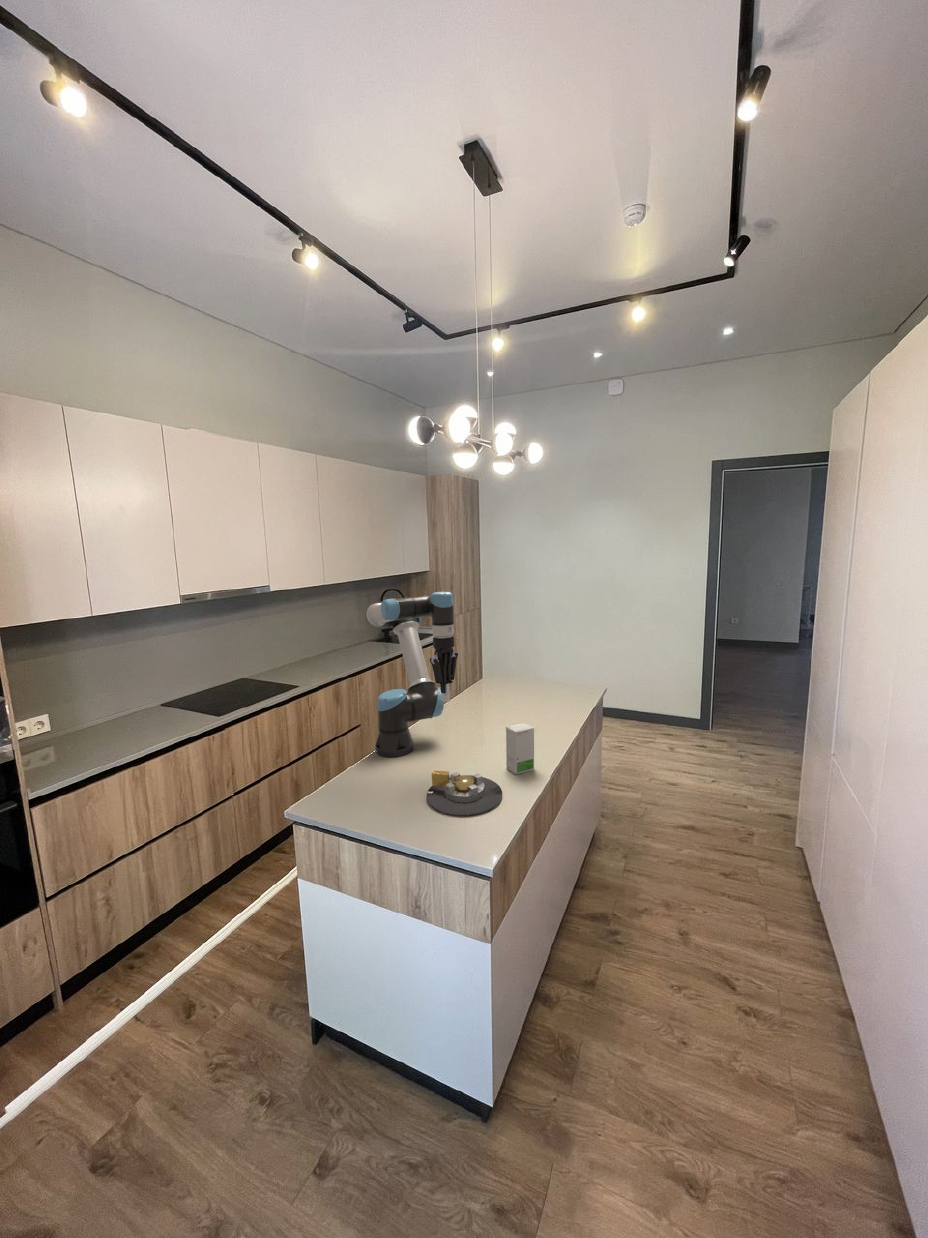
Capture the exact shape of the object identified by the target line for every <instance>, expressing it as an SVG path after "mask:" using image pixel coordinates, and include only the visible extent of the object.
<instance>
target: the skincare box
mask: <svg viewBox="0 0 928 1238" xmlns="http://www.w3.org/2000/svg"><path fill="white" fill-rule="evenodd" d="M505 732H506V733H505V741H506V742H505V743H506V745H505V746H506V748H505V751H506V757H505V759H506V769H508V770H509V771H510V772H511V773H513V774H514V775H519V774H523V773H527V772H531V771H534V770H535V728H534V727H533V726H531V725H529V724H527V723H525V722H524V723H517V724H512V725H507V726H505Z"/></svg>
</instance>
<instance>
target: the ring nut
mask: <svg viewBox="0 0 928 1238" xmlns="http://www.w3.org/2000/svg"><path fill="white" fill-rule="evenodd" d="M458 776H461V774H460V772H457V771H454V772H453V773H450V771H449V770H448V771H447V770H433V771H432V773H431V786H444V794H445V796H446V797H447V798H448V799H450V800H452V801H454V802H463V803H467V802H472V801H476V800H478V799H479V798H481V797H483V795H484V792H485V785H484V783H483V782H482V777H483V776H482V775H481V774H480V773H475V774H473V775H472V776H473V779H474V785H471V786H469V787H468V792H467V793H461V792H456V791H455V778H456V777H458ZM449 777H451V780H450V779H449Z"/></svg>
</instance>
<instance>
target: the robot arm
mask: <svg viewBox="0 0 928 1238" xmlns="http://www.w3.org/2000/svg"><path fill="white" fill-rule="evenodd" d="M454 604H455V603H454V597H453V593H452V592H450V591H436V592H432V593H431V594H429V595H428V594H426V595H422V596H413V597H411V596H410V597H401V598H400V597H399V598H392V597H391V598H388V599H383V600H382V601H379V602H376V603H372V604H370V605H369V606H368V607H366V609H365V611H364V619H365V621H366V623H367V625H370V626H371V627H373V628H377V629H392V631H393V633H394V635H397V638H398V642H399V644H400V645H399V646H400V650H401V653H402V656H403V663H404V665H405V670H406V673H407V678H408V682H409V683H408V684H409V686H408V688H407V690H405V689H404V688H398V689H397V688H394V689H389V690H386V691H384V692H382V693H381V694H380V695H379V696H378V697H377V701H376V705H377V706H376V710H377V722H378V733H377V734H378V735H377V738H376V741H375V748H374V749H375V753H376V755H378V756H381V757H384V758H398V757H402V756H405V755H407V754H410V753H411V752H413V751H414V749H415V743H414V740H413V738H412V735H411V732H410V729H409V723H411V722H416V721H422V720H428V719H433V718H437V717H440V716H441V715H442V714H443V712H444V707H445V703H449V702H451V684H453V683H454V681H455V676H456V667H457V660H458V656H459V653H458V652H455V651H454V647H455V637H454V635H455V630H454V628H455V626H454V619H455V617H454ZM428 617H431V620H432V621H431V623H432V624H431V625H432V627H431V629H432V636H433V638H432V646H433V648H434V652H433V653H434V656H433V657H432V658H429V662H430V664H431V667H432V672H433V676H434V680H435V681H434V680H432V679H431V678H430V674H429V669H428V667H427V661H426V659H425V655H424V651H423V647H422V643H421V640H420V637H419V636H420V635H419V632H418V629H420V625H421V624H422V620H423V618H428ZM436 684H439V686H440V687H439V686H436ZM376 751H377V752H376Z"/></svg>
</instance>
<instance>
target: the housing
mask: <svg viewBox="0 0 928 1238" xmlns="http://www.w3.org/2000/svg"><path fill="white" fill-rule="evenodd" d="M449 779H450V780H451V776H449ZM482 782H483V783H484V785H485V792H484V795H483V797H481V798H479V799H478V800H476V801H472V802H467V803H463V802H454V801H452V800H450V799H448V798H447V797H446V796H445V794H444V786H432V785H431V786H430V787H429V788H428V790H427V793H426V800H427V803H428V806H430V808H432V809H433V810H435V811H436V812H437V813H439V814H443V815H447V816H450V817H451V816H452V817H461V818H462V817H467V818H468V817H473V816H479V815H484V814H486V813H488V812H490V811H493V810H494V809H495V808H497V807H498V806H499V805H500V804H501V803H502V800H503V790H502V788H501V786H500V785H499V784H498V783H496V782H495V781H494V780H492V779H490V778H487V777H484V776H482ZM471 785H474V779H473V775H469V774H468V775H466V774H464V775H463V774H462V775H461V774H460V776H458V777H456V778H455V791H456V792H461V793H467V792H468V787H469V786H471Z"/></svg>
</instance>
